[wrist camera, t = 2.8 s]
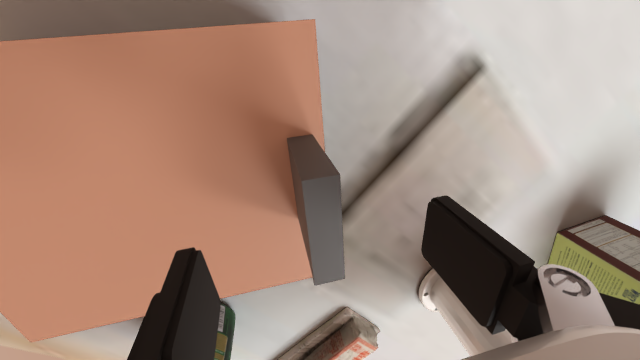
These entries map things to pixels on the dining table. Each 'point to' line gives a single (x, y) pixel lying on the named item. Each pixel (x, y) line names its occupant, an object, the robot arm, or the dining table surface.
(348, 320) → the packaged product
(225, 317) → the coffee jar
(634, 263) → the protein box
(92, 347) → the dining table surface
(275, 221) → the lid
